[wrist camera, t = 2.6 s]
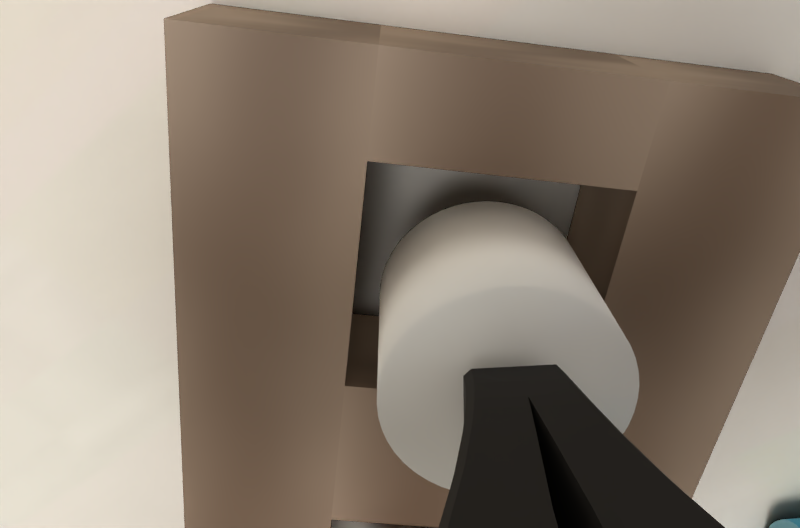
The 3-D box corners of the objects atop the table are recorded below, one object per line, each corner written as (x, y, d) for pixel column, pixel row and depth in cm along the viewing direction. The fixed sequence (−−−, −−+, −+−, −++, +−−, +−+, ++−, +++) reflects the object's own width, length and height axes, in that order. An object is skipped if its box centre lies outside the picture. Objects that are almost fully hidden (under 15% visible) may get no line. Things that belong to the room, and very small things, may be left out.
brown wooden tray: (771, 73, 14) (864, 104, 11) (573, 614, 22) (599, 708, 19) (210, 3, 13) (164, 18, 10) (216, 591, 21) (191, 685, 18)
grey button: (603, 213, 12) (674, 300, 9) (555, 385, 14) (601, 505, 11) (391, 189, 12) (392, 272, 9) (370, 368, 14) (364, 487, 11)
